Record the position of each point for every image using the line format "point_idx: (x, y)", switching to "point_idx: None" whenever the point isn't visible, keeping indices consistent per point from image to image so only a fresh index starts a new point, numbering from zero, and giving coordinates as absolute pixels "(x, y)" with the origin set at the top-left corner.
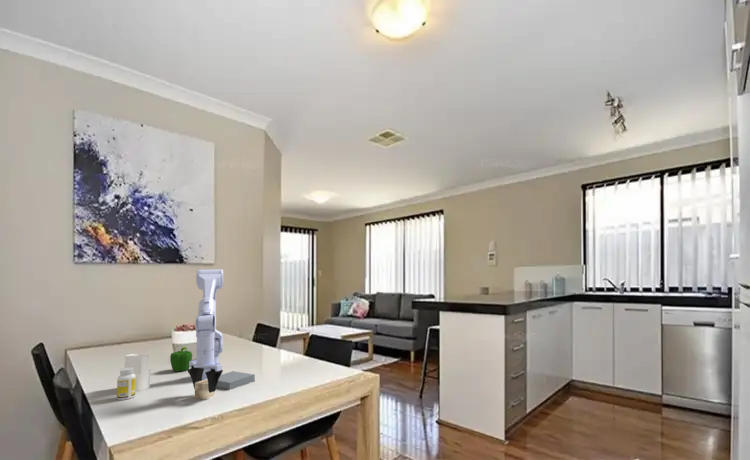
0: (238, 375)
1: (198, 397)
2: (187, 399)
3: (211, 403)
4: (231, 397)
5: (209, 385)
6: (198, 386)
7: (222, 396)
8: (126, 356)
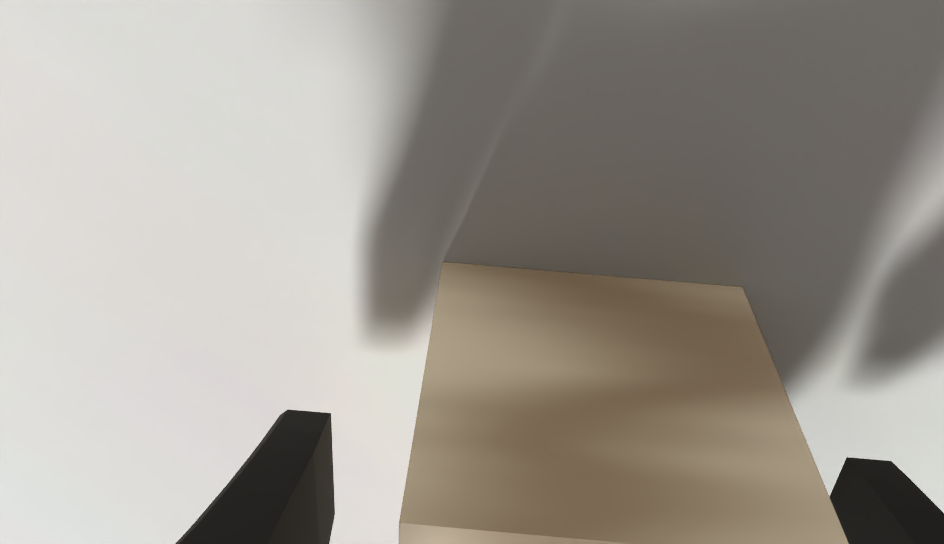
0: None
1: (611, 287)
2: (824, 142)
3: (33, 138)
4: (57, 486)
5: (211, 531)
6: (653, 471)
7: None
8: None
